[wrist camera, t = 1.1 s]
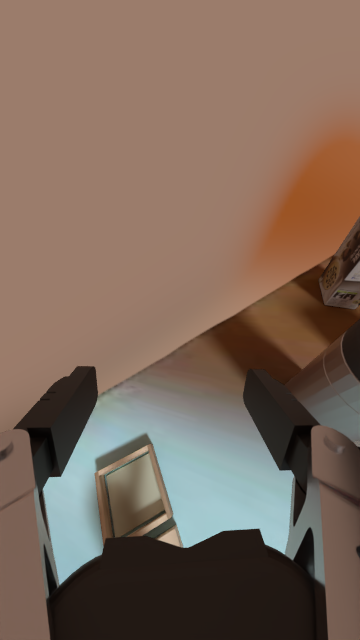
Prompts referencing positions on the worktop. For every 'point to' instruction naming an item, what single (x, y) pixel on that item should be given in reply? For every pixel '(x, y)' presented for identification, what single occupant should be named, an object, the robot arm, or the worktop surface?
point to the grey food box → (343, 273)
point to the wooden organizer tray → (135, 497)
